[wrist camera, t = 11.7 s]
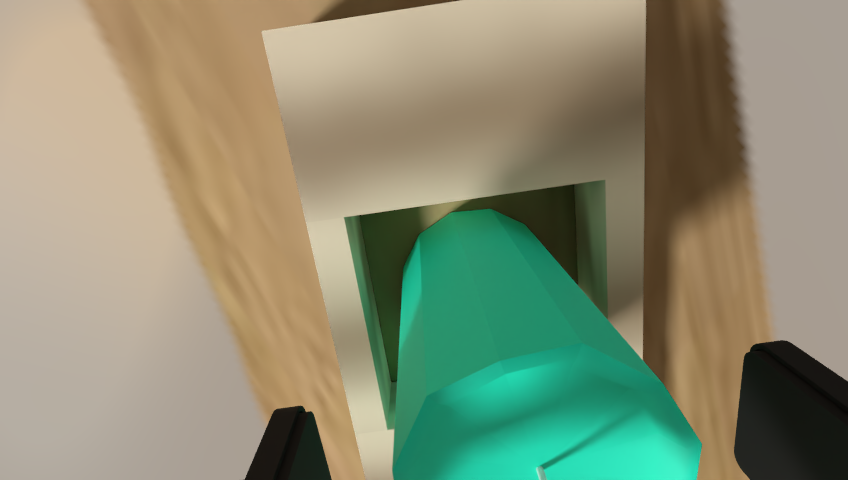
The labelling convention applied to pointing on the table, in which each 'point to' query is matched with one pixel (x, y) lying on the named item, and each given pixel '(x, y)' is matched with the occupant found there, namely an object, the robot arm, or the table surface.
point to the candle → (521, 369)
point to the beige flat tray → (462, 149)
